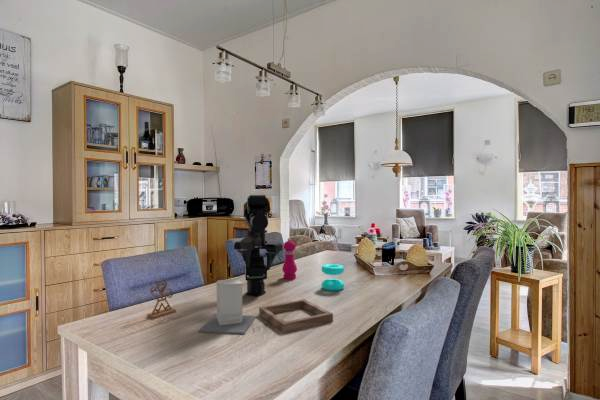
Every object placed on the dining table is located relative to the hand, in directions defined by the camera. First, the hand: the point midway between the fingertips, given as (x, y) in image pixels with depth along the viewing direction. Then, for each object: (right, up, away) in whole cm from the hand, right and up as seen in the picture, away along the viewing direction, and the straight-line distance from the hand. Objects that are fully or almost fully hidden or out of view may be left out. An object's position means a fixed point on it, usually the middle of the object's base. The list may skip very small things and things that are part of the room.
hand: (258, 268), depth 130 cm
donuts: (+30, -13, +21) cm, 39 cm away
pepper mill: (+11, -13, +39) cm, 43 cm away
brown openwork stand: (-32, -14, -12) cm, 37 cm away
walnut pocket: (+14, -13, -16) cm, 25 cm away
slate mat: (-7, -13, -22) cm, 26 cm away
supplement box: (-7, -13, -20) cm, 25 cm away
